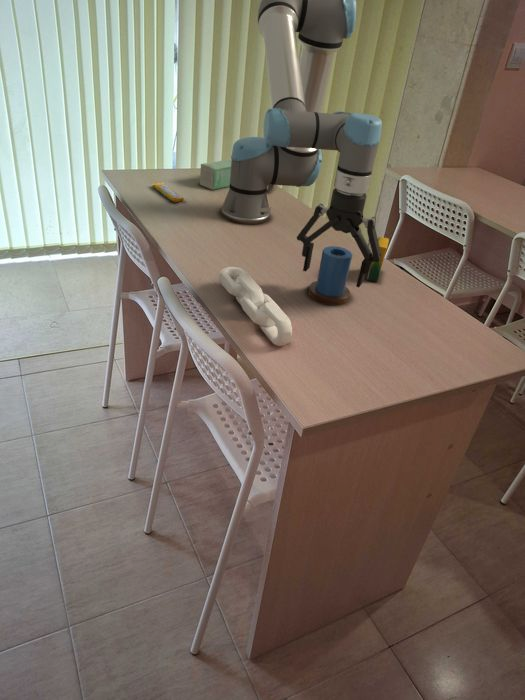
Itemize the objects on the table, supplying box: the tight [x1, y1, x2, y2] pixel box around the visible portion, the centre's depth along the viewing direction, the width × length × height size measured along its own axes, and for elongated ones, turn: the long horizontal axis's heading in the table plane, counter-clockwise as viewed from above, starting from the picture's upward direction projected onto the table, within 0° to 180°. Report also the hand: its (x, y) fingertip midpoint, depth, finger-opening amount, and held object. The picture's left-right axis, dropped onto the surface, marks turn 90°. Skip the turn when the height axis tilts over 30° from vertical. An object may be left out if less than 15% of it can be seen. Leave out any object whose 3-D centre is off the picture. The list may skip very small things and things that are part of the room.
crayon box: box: [366, 229, 390, 283], centre depth 142 cm, size 7×3×12 cm, turn 164°
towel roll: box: [316, 245, 353, 297], centre depth 129 cm, size 7×7×10 cm
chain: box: [218, 266, 293, 347], centre depth 120 cm, size 30×6×6 cm, turn 26°
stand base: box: [308, 280, 351, 306], centre depth 133 cm, size 10×10×2 cm
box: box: [199, 159, 231, 191], centre depth 192 cm, size 7×14×8 cm, turn 137°
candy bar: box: [151, 181, 184, 203], centre depth 178 cm, size 17×4×2 cm, turn 34°
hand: (332, 277), depth 130 cm, fingers open, 13 cm apart
